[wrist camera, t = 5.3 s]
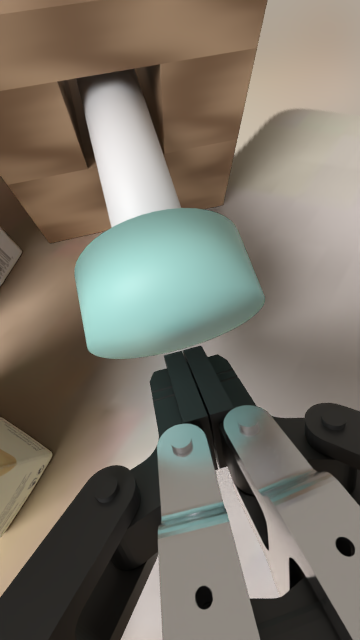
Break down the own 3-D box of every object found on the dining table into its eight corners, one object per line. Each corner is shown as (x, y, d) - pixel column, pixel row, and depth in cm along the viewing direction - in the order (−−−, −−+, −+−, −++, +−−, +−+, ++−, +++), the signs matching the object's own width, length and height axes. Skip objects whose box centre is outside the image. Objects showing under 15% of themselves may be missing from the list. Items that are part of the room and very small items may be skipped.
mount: (194, 133, 22) (210, -118, 12) (222, 204, 20) (272, -25, 10) (37, 163, 21) (-99, -85, 11) (49, 243, 19) (-106, 29, 9)
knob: (166, 121, 17) (161, -26, 11) (242, 332, 13) (294, 265, 7) (65, 140, 17) (7, -5, 11) (110, 368, 12) (54, 325, 7)
